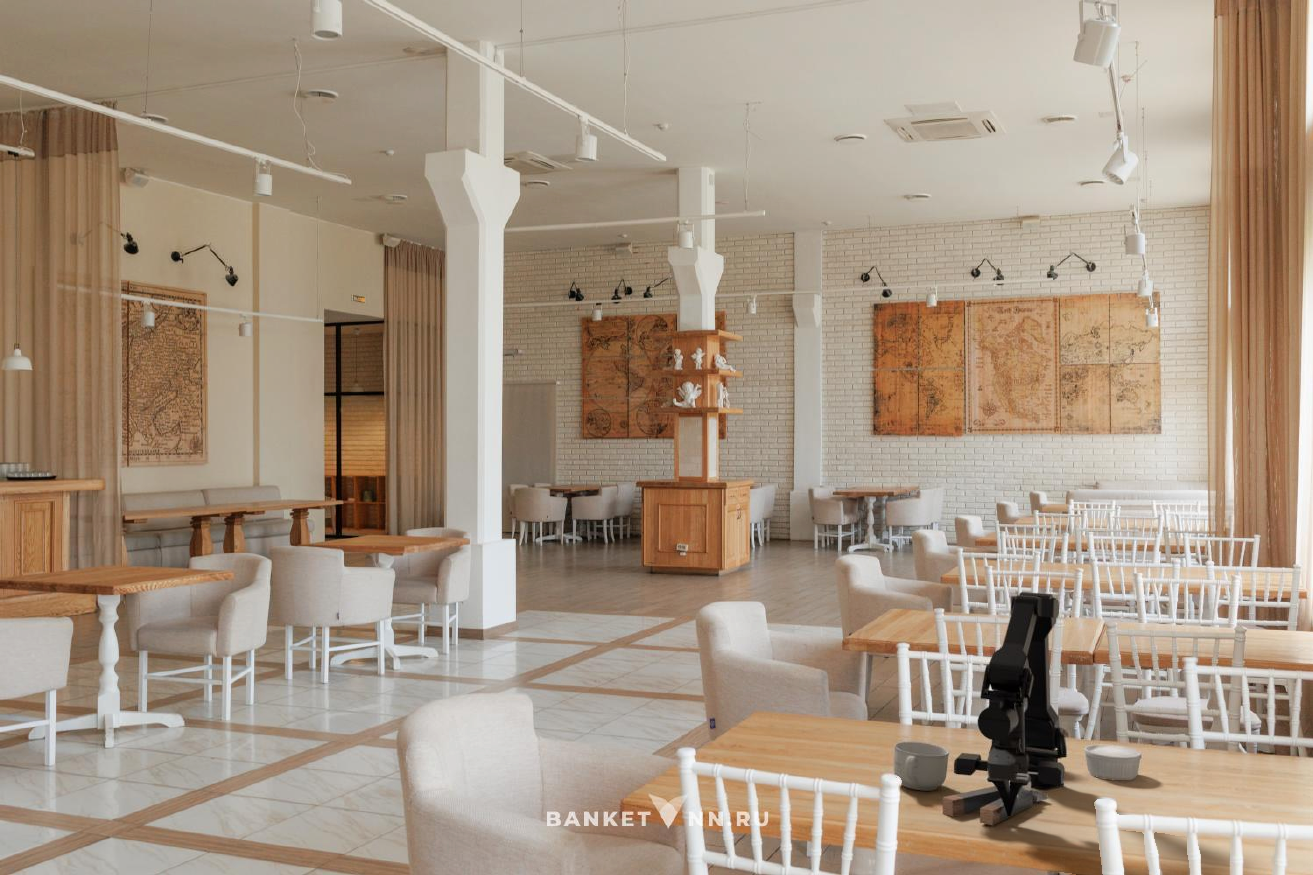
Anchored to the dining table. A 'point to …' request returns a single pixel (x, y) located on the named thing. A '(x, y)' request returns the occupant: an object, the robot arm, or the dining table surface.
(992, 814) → the tongs arm
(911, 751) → the teacup
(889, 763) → the dining table surface
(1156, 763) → the dining table surface
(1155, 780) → the dining table surface
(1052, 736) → the robot arm
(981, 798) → the base
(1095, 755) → the ramekin
